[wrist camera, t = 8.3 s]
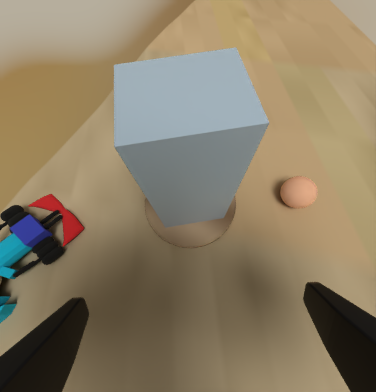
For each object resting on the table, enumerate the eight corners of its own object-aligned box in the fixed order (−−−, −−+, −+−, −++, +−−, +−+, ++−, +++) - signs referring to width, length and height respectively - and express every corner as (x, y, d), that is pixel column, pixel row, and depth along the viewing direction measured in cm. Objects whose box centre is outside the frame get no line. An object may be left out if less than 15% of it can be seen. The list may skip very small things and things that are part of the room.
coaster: (231, 255, 17) (232, 254, 16) (136, 239, 18) (134, 238, 17) (237, 170, 20) (238, 167, 20) (157, 160, 21) (156, 157, 21)
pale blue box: (223, 217, 18) (269, 123, 7) (165, 227, 18) (114, 146, 7) (213, 176, 20) (236, 47, 9) (160, 184, 19) (114, 64, 8)
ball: (307, 214, 18) (327, 203, 15) (275, 210, 18) (289, 198, 16) (305, 187, 19) (323, 172, 17) (275, 183, 20) (288, 168, 17)
